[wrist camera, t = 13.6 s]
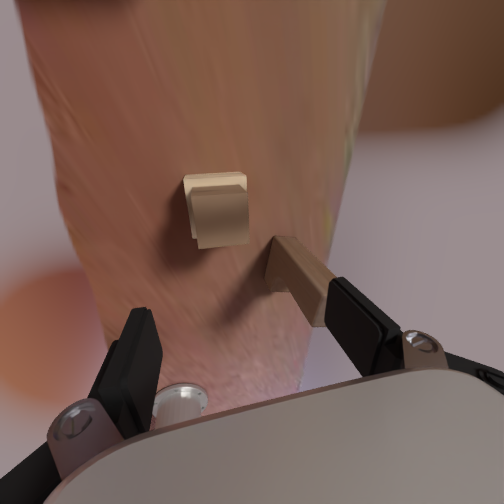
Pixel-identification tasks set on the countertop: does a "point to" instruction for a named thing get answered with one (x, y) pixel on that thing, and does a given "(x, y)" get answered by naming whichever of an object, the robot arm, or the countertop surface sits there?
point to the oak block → (209, 180)
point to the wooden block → (299, 277)
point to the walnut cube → (220, 215)
